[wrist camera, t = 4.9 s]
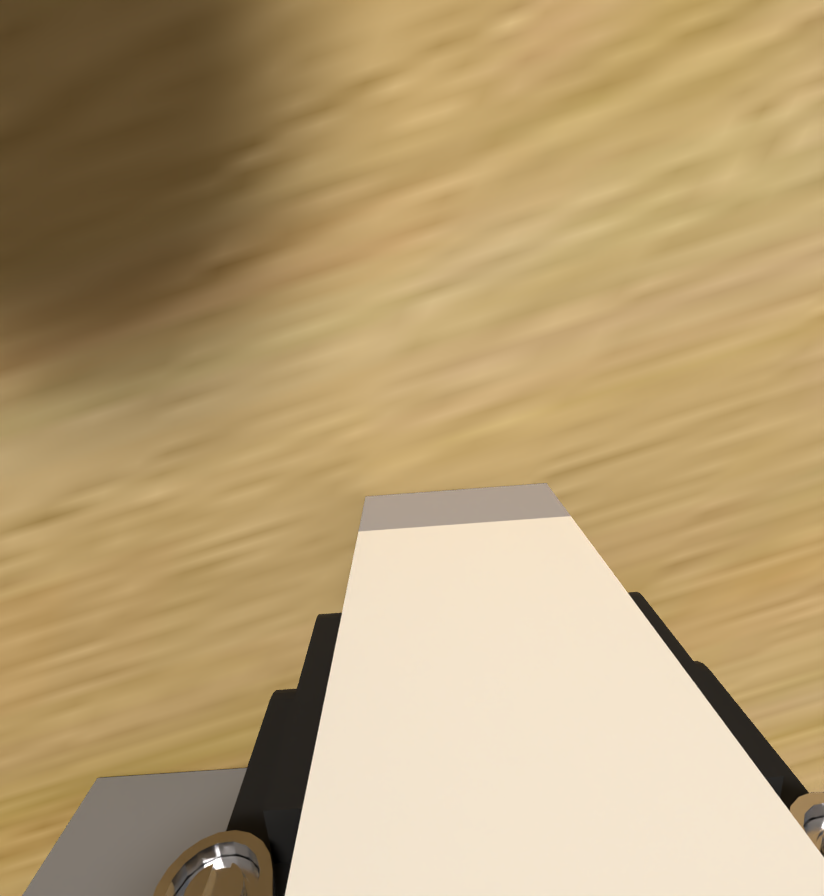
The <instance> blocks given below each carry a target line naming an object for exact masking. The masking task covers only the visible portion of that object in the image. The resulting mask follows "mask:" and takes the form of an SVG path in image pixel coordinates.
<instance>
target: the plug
mask: <svg viewBox="0 0 824 896" xmlns="http://www.w3.org/2000/svg"><path fill="white" fill-rule="evenodd" d="M285 896H824V857H823V856H822V854H821V853H820V852H819V850H818V849H817V848H816V846H815V845H814V843H813V842H812V841H811V839H810V838H809V837H808V835H807V834H806V833H805V831H804V830H803V829H802V827H801V826H800V825H799V823H798V822H797V821H796V819H795V818H794V816H793V815H792V814H791V812H790V811H789V810H788V808H787V807H786V806H785V804H784V803H783V802H782V800H781V799H780V798H779V796H778V795H777V794H776V792H775V791H774V790H773V788H772V787H771V785H770V784H769V783H768V781H767V780H766V779H765V777H764V776H763V775H762V773H761V772H760V771H759V769H758V768H757V767H756V765H755V764H754V763H753V761H752V760H751V759H750V757H749V756H748V754H747V753H746V752H745V750H744V749H743V748H742V746H741V745H740V744H739V742H738V741H737V740H736V738H735V737H734V736H733V734H732V733H731V732H730V730H729V729H728V727H727V726H726V725H725V723H724V722H723V721H722V719H721V718H720V717H719V715H718V714H717V713H716V711H715V710H714V709H713V707H712V706H711V705H710V703H709V702H708V701H707V699H706V698H705V696H704V695H703V694H702V692H701V691H700V690H699V688H698V687H697V686H696V684H695V683H694V682H693V680H692V679H691V678H690V676H689V675H688V674H687V672H686V671H685V669H684V668H683V667H682V665H681V664H680V663H679V661H678V660H677V659H676V657H675V656H674V655H673V653H672V652H671V651H670V649H669V648H668V647H667V645H666V644H665V643H664V641H663V640H662V638H661V637H660V636H659V634H658V633H657V632H656V630H655V629H654V628H653V626H652V625H651V624H650V622H649V621H648V620H647V618H646V617H645V616H644V614H643V613H642V612H641V610H640V609H639V607H638V606H637V605H636V603H635V602H634V601H633V599H632V598H631V597H630V595H629V594H628V593H627V591H626V590H625V589H624V587H623V586H622V585H621V583H620V582H619V580H618V579H617V578H616V576H615V575H614V574H613V572H612V571H611V570H610V568H609V567H608V566H607V564H606V563H605V562H604V560H603V559H602V558H601V556H600V555H599V554H598V552H597V551H596V549H595V548H594V547H593V545H592V544H591V543H590V541H589V540H588V539H587V537H586V536H585V535H584V533H583V532H582V531H581V529H580V528H579V527H578V525H577V524H576V523H575V521H574V520H573V518H572V517H571V516H570V514H569V513H568V512H567V510H566V509H565V508H564V506H563V505H562V504H561V502H560V501H559V500H558V498H557V497H556V496H555V494H554V493H553V491H552V490H551V489H550V487H549V486H548V485H547V483H543V484H529V485H515V486H502V487H488V488H475V489H461V490H448V491H434V492H420V493H407V494H393V495H380V496H366V497H365V502H364V507H363V512H362V517H361V522H360V527H359V532H358V537H357V542H356V547H355V552H354V556H353V561H352V566H351V571H350V576H349V581H348V586H347V591H346V596H345V601H344V606H343V611H342V616H341V621H340V626H339V630H338V635H337V640H336V645H335V650H334V655H333V660H332V665H331V670H330V675H329V680H328V685H327V690H326V695H325V699H324V704H323V709H322V714H321V719H320V724H319V729H318V734H317V739H316V744H315V749H314V754H313V759H312V764H311V768H310V773H309V778H308V783H307V788H306V793H305V798H304V803H303V808H302V813H301V818H300V823H299V828H298V833H297V837H296V842H295V847H294V852H293V857H292V862H291V867H290V872H289V877H288V882H287V887H286V892H285Z"/></svg>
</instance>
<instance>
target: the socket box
mask: <svg viewBox="0 0 824 896" xmlns="http://www.w3.org/2000/svg"><path fill="white" fill-rule="evenodd" d="M246 770H247V768H239V769H224V770H209V771H195V772H180V773H165V774H150V775H135V776H121V777H106V778H97V780H96V781H95V783H94V784H93V786H92V787H91V789H90V791H89V792H88V794H87V795H86V797H85V798H84V800H83V801H82V803H81V805H80V806H79V808H78V809H77V811H76V812H75V814H74V816H73V817H72V819H71V820H70V822H69V823H68V825H67V826H66V828H65V830H64V831H63V833H62V834H61V836H60V837H59V839H58V841H57V842H56V844H55V845H54V847H53V848H52V850H51V852H50V853H49V855H48V856H47V858H46V859H45V861H44V862H43V864H42V866H41V867H40V869H39V870H38V872H37V873H36V875H35V877H34V878H33V880H32V881H31V883H30V884H29V886H28V887H27V889H26V891H25V892H24V894H23V895H22V896H153V894H154V891H155V889H156V886H157V885H158V883H159V882H160V880H161V878H162V877H163V875H164V874H165V872H166V870H167V869H168V868H169V867H170V865H171V864H172V863H173V862H174V861H175V860H176V859H177V858H178V857H179V856H180V855H181V854H182V853H183V852H184V851H185V850H187V849H188V848H190V847H191V846H193V845H194V844H195V843H197V842H198V841H200V840H202V839H204V838H206V837H209V836H211V835H214V834H216V833H218V832H225V831H226V829H227V826H228V823H229V820H230V817H231V815H232V812H233V809H234V806H235V803H236V800H237V797H238V794H239V791H240V788H241V785H242V782H243V779H244V776H245V773H246Z"/></svg>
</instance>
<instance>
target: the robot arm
mask: <svg viewBox="0 0 824 896" xmlns="http://www.w3.org/2000/svg"><path fill="white" fill-rule="evenodd" d="M628 594H629V595H630V597H631V598H632V599H633V601H634V602H635V603H636V605H637V606H638V607H639V609H640V610H641V612H642V613H643V614H644V616H645V617H646V618H647V620H648V621H649V622H650V624H651V625H652V626H653V628H654V629H655V630H656V632H657V633H658V634H659V636H660V637H661V638H662V640H663V641H664V643H665V644H666V645H667V647H668V648H669V649H670V651H671V652H672V653H673V655H674V656H675V657H676V659H677V660H678V661H679V663H680V664H681V665H682V667H683V668H684V669H685V671H686V672H687V674H688V675H689V676H690V678H691V679H692V680H693V682H694V683H695V684H696V686H697V687H698V688H699V690H700V691H701V692H702V694H703V695H704V696H705V698H706V699H707V701H708V702H709V703H710V705H711V706H712V707H713V709H714V710H715V711H716V713H717V714H718V715H719V717H720V718H721V719H722V721H723V722H724V723H725V725H726V726H727V727H728V729H729V730H730V732H731V733H732V734H733V736H734V737H735V738H736V740H737V741H738V742H739V744H740V745H741V746H742V748H743V749H744V750H745V752H746V753H747V754H748V756H749V757H750V759H751V760H752V761H753V763H754V764H755V765H756V767H757V768H758V769H759V771H760V772H761V773H762V775H763V776H764V777H765V779H766V780H767V781H768V783H769V784H770V785H771V787H772V788H773V790H774V791H775V792H776V794H777V795H778V796H779V798H780V799H781V800H782V802H783V803H784V804H785V806H786V807H787V808H788V810H789V811H790V812H791V814H792V815H793V816H794V818H795V819H796V821H797V822H798V823H799V825H800V826H801V827H802V829H803V830H804V831H805V833H806V834H807V835H808V837H809V838H810V839H811V841H812V842H813V843H814V845H815V846H816V848H817V849H818V850H819V852H820V853H821V854H822V856H823V857H824V792H811V793H809V792H808V791H807V790H806V789H805V787H804V786H803V785H802V784H801V782H800V781H799V780H798V779H797V777H796V776H795V775H794V774H793V772H792V771H791V770H790V769H789V768H788V766H787V765H786V764H785V763H784V761H783V760H782V759H781V758H780V756H779V755H778V754H777V753H776V751H775V750H774V749H773V748H772V746H771V745H770V744H769V743H768V742H767V740H766V739H765V738H764V737H763V735H762V734H761V733H760V732H759V730H758V729H757V728H756V727H755V725H754V724H753V723H752V722H751V720H750V719H749V718H748V717H747V715H746V714H745V713H744V712H743V711H742V709H741V708H740V707H739V706H738V704H737V703H736V702H735V701H734V699H733V698H732V697H731V696H730V694H729V693H728V692H727V691H726V689H725V688H724V687H723V686H722V684H721V683H720V682H719V681H718V680H717V678H716V677H715V676H714V675H713V673H712V672H711V671H710V670H709V669H708V668H707V667H706V666H705V665H704V664H703V663H701V662H698V661H693V660H692V659H691V657H690V656H689V655H688V653H687V652H686V651H685V650H684V648H683V647H682V646H681V644H680V643H679V642H678V641H677V639H676V638H675V637H674V636H673V634H672V633H671V632H670V630H669V629H668V628H667V627H666V625H665V624H664V623H663V621H662V620H661V619H660V618H659V616H658V615H657V614H656V613H655V611H654V610H653V609H652V607H651V606H650V605H649V604H648V602H647V601H646V600H645V598H644V597H643V596H642V595H641V594H640V593H639V592H630V593H628ZM341 616H342V613H332V614H319V615H318V616H317V619H316V622H315V626H314V629H313V633H312V637H311V640H310V644H309V647H308V651H307V655H306V658H305V662H304V665H303V669H302V673H301V676H300V680H299V683H298V687H297V689H287V690H276V691H275V692H274V693H273V695H272V697H271V699H270V702H269V705H268V708H267V711H266V714H265V717H264V720H263V722H262V725H261V728H260V731H259V734H258V737H257V740H256V743H255V746H254V749H253V752H252V755H251V758H250V761H249V764H248V767H247V770H246V773H245V776H244V779H243V782H242V785H241V788H240V791H239V794H238V797H237V800H236V803H235V806H234V809H233V812H232V815H231V817H230V820H229V823H228V826H227V829H226V831H225V832H218V833H216V834H214V835H211V836H209V837H206V838H204V839H202V840H200V841H198V842H197V843H195V844H194V845H193V846H191V847H190V848H188V849H187V850H185V851H184V852H183V853H182V854H181V855H180V856H179V857H178V858H177V859H176V860H175V861H174V862H173V863H172V864H171V865H170V867H169V868H168V869H167V870H166V872H165V874H164V875H163V877H162V878H161V880H160V882H159V883H158V885H157V886H156V889H155V891H154V894H153V896H285V892H286V887H287V882H288V877H289V872H290V867H291V862H292V857H293V852H294V847H295V842H296V837H297V833H298V828H299V823H300V818H301V813H302V808H303V803H304V798H305V793H306V788H307V783H308V778H309V773H310V768H311V764H312V759H313V754H314V749H315V744H316V739H317V734H318V729H319V724H320V719H321V714H322V709H323V704H324V699H325V695H326V690H327V685H328V680H329V675H330V670H331V665H332V660H333V655H334V650H335V645H336V640H337V635H338V630H339V626H340V621H341Z"/></svg>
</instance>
